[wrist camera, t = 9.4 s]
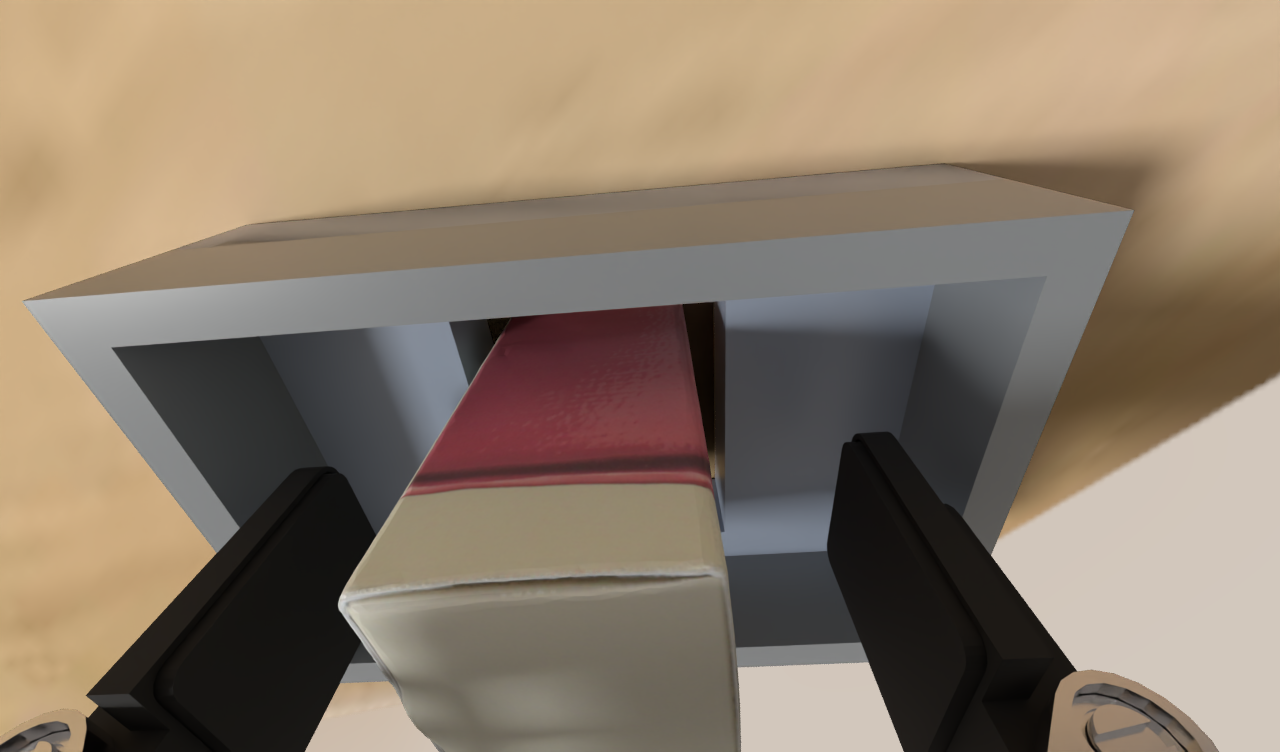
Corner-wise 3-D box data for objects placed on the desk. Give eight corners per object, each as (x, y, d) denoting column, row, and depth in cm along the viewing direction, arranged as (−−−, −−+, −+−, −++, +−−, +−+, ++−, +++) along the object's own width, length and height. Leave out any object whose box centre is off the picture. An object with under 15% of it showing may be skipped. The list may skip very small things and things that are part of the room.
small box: (698, 452, 14) (749, 797, 7) (551, 466, 14) (467, 810, 7) (683, 286, 11) (741, 574, 5) (505, 307, 12) (315, 608, 5)
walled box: (944, 163, 10) (1134, 210, 6) (869, 512, 15) (947, 658, 11) (246, 224, 11) (21, 301, 7) (398, 537, 16) (318, 683, 12)
